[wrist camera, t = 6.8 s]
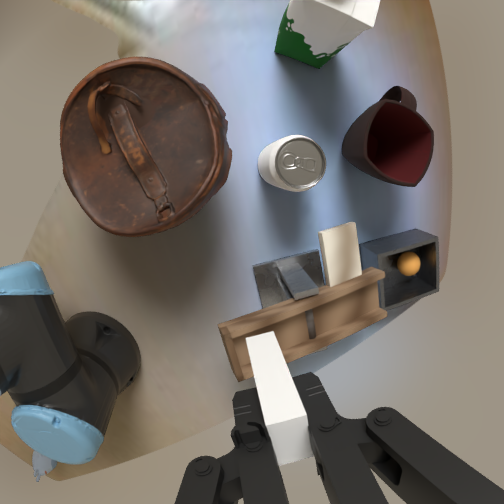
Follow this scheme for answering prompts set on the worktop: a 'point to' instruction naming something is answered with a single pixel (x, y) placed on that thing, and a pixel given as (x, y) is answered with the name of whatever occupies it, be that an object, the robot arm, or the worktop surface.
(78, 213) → the worktop surface
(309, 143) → the can
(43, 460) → the toy figure
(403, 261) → the ball
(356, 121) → the cup
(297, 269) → the stand
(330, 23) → the milk carton
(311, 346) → the lever
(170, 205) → the case
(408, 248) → the tin
